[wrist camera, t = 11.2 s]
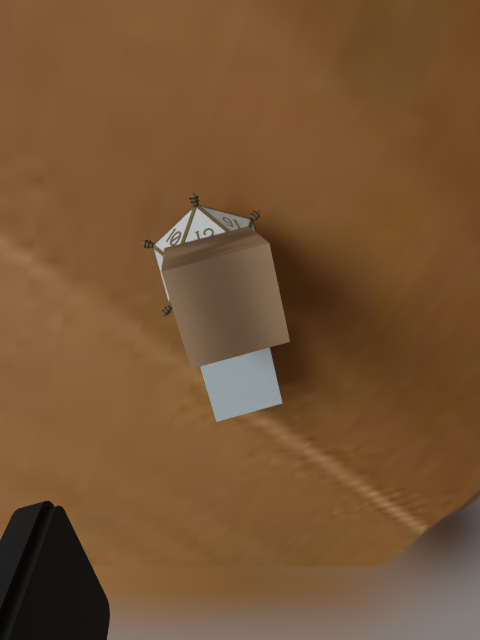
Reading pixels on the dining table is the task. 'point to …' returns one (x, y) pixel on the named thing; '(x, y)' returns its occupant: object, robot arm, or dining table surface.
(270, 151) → the dining table surface
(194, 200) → the game die
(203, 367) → the grey block
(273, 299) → the walnut block
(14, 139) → the dining table surface
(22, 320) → the dining table surface
